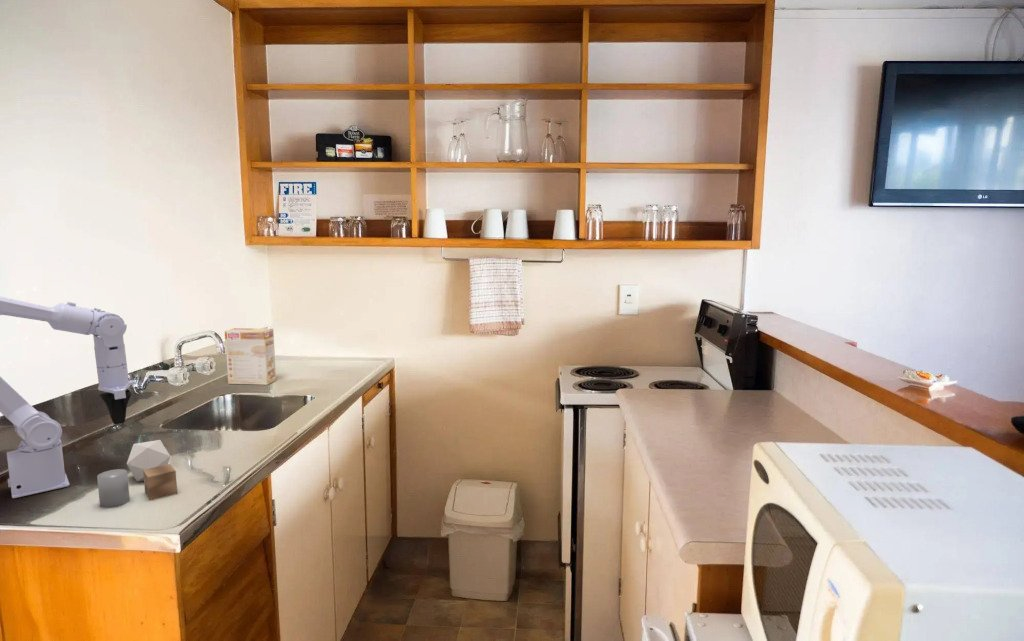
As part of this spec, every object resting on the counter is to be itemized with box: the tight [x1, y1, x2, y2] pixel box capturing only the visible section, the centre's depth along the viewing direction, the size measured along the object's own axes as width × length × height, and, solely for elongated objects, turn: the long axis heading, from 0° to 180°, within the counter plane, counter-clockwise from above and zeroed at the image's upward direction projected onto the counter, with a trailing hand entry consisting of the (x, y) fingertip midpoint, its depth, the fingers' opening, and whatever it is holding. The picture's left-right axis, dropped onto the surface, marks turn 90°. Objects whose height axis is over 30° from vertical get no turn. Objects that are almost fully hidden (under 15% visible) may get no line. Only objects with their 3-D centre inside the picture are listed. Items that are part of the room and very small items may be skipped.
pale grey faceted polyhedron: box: [126, 439, 171, 483], centre depth 133 cm, size 8×9×10 cm
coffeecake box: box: [224, 327, 277, 386], centre depth 217 cm, size 15×7×20 cm, turn 84°
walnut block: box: [143, 463, 178, 501], centre depth 125 cm, size 5×5×5 cm
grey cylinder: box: [96, 468, 131, 509], centre depth 121 cm, size 5×5×6 cm
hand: (118, 422), depth 138 cm, fingers closed
